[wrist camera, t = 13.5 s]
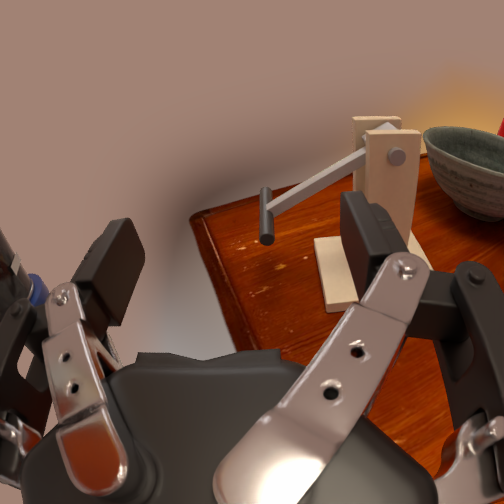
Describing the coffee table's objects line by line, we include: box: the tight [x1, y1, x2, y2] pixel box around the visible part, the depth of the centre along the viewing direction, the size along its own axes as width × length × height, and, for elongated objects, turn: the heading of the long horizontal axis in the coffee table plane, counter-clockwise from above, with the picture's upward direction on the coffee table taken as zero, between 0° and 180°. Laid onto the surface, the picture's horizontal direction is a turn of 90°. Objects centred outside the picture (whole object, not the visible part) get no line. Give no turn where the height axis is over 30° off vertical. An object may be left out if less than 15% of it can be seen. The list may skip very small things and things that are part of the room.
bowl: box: [423, 126, 504, 222], centre depth 35 cm, size 21×21×10 cm
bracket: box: [314, 116, 434, 313], centre depth 27 cm, size 12×10×16 cm
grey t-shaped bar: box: [259, 122, 398, 246], centre depth 25 cm, size 14×8×2 cm, turn 88°
